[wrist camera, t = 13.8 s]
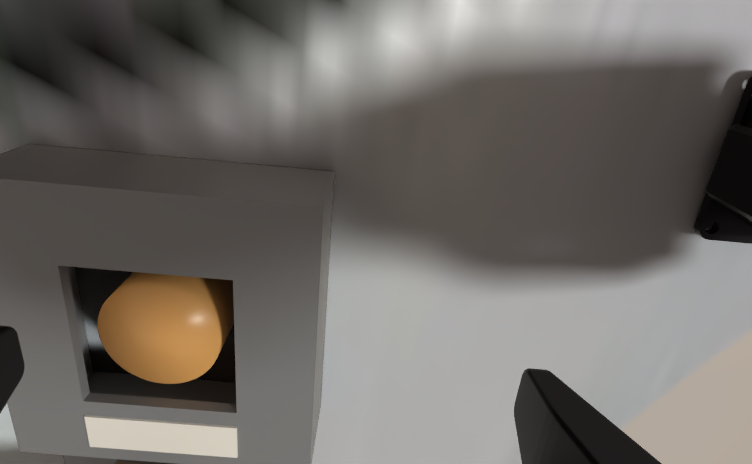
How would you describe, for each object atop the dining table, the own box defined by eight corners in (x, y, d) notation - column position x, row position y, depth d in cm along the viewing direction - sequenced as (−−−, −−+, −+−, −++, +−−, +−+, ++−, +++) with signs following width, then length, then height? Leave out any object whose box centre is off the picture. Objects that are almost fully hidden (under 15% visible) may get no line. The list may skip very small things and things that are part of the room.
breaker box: (334, 171, 20) (323, 208, 16) (320, 405, 25) (309, 475, 21) (28, 143, 20) (-56, 174, 16) (74, 385, 24) (18, 453, 21)
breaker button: (239, 251, 21) (218, 288, 18) (241, 342, 23) (222, 388, 20) (128, 242, 21) (89, 277, 18) (139, 334, 23) (105, 379, 20)
